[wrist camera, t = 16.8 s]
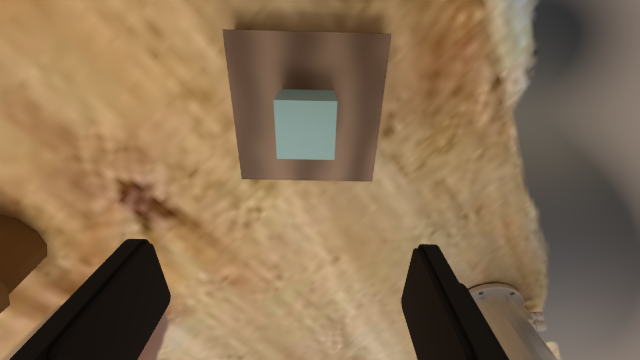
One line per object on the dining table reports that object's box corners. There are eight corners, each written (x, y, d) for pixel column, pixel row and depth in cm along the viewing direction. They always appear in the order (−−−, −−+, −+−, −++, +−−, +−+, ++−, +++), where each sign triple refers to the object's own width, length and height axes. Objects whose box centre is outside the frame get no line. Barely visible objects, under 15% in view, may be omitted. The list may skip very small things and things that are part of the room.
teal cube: (334, 90, 28) (337, 101, 23) (332, 140, 30) (334, 159, 26) (281, 89, 28) (273, 100, 23) (283, 139, 30) (276, 158, 26)
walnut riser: (382, 34, 29) (391, 33, 25) (366, 167, 36) (372, 181, 33) (234, 30, 29) (222, 29, 25) (249, 165, 36) (241, 179, 33)
